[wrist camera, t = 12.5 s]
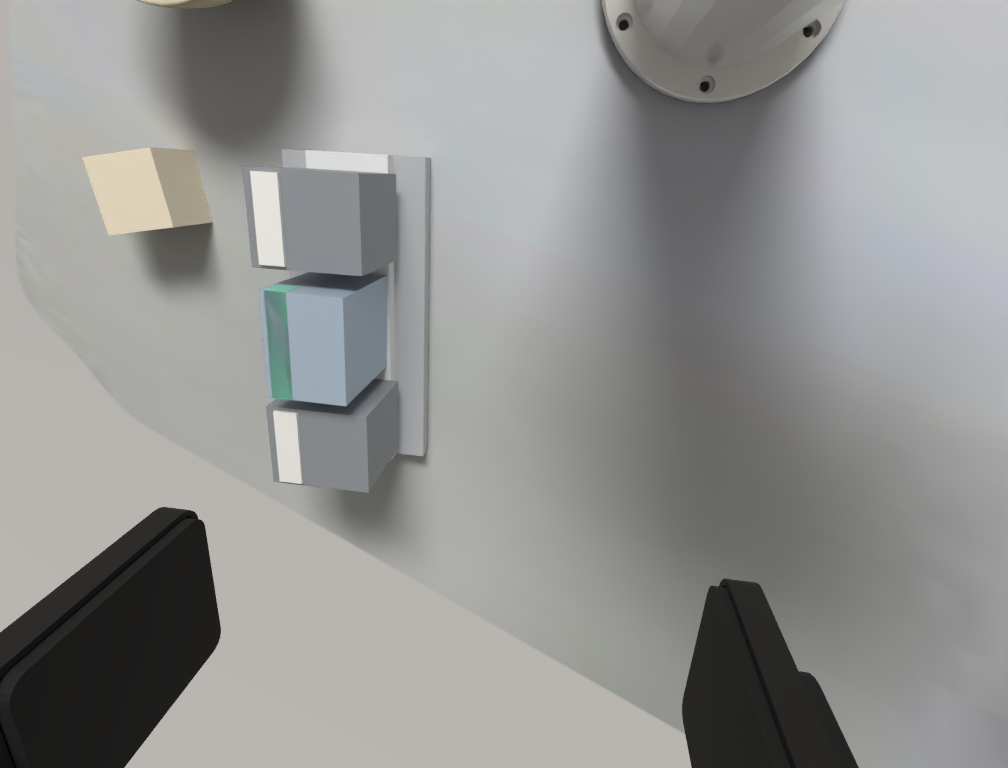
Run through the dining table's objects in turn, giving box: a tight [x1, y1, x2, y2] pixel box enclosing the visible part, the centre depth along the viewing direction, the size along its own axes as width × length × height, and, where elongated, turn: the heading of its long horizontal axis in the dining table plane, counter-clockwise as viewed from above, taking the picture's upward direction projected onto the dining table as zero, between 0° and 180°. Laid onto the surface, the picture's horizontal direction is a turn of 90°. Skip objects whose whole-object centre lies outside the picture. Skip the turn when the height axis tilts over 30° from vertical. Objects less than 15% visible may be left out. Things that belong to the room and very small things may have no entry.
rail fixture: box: [242, 149, 430, 493], centre depth 35 cm, size 20×9×8 cm, turn 177°
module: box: [259, 272, 387, 406], centre depth 33 cm, size 6×4×7 cm
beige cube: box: [82, 148, 212, 235], centre depth 36 cm, size 4×4×4 cm
